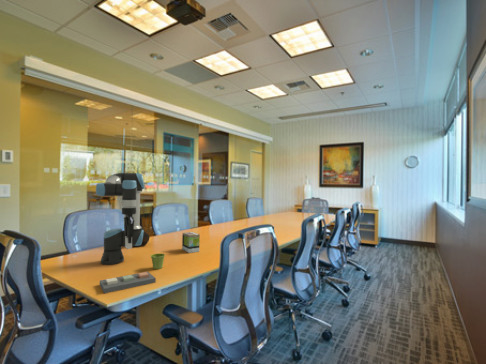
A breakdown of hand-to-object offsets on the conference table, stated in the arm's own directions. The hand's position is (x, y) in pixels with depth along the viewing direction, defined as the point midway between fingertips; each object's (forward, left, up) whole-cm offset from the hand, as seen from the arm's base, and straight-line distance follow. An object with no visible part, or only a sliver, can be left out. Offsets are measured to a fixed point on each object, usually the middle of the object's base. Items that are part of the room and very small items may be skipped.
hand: (128, 248), depth 154 cm
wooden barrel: (-90, +32, -21) cm, 98 cm away
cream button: (0, -9, -19) cm, 21 cm away
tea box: (-48, +62, -21) cm, 82 cm away
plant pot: (-18, +24, -21) cm, 36 cm away
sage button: (0, 0, -19) cm, 19 cm away
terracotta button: (0, +8, -19) cm, 21 cm away
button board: (0, 0, -21) cm, 21 cm away
